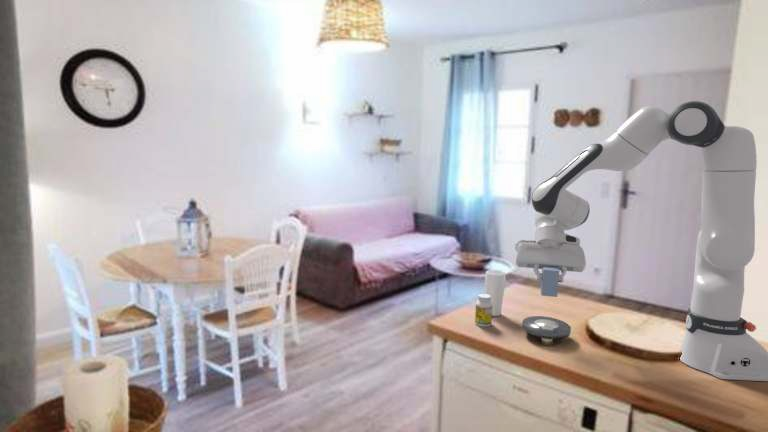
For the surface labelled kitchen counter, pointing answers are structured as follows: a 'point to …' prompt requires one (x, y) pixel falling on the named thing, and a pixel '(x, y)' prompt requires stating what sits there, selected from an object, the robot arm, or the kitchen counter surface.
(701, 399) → the kitchen counter surface
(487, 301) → the supplement bottle
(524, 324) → the stand
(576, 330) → the kitchen counter surface
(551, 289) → the block
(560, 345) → the kitchen counter surface
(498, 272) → the drinking glass
